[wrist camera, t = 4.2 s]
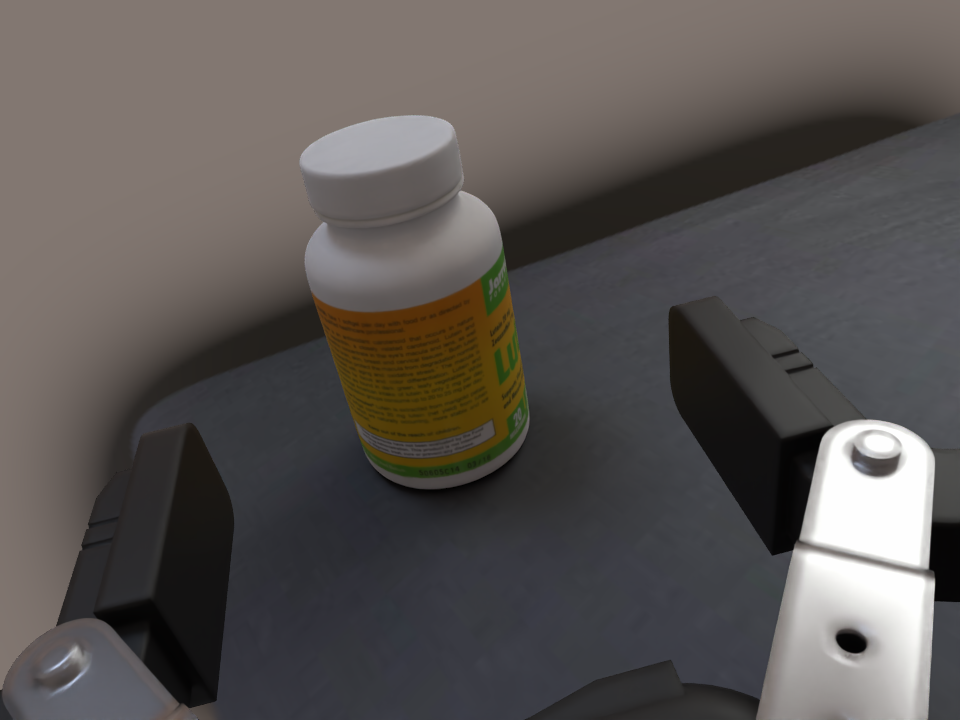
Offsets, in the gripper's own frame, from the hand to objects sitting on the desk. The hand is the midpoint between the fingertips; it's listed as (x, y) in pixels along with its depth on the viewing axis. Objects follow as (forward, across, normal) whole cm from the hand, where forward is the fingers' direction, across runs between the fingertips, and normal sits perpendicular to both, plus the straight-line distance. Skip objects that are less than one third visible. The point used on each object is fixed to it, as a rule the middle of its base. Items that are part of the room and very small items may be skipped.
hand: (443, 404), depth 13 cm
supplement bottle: (+9, 0, +8) cm, 12 cm away
